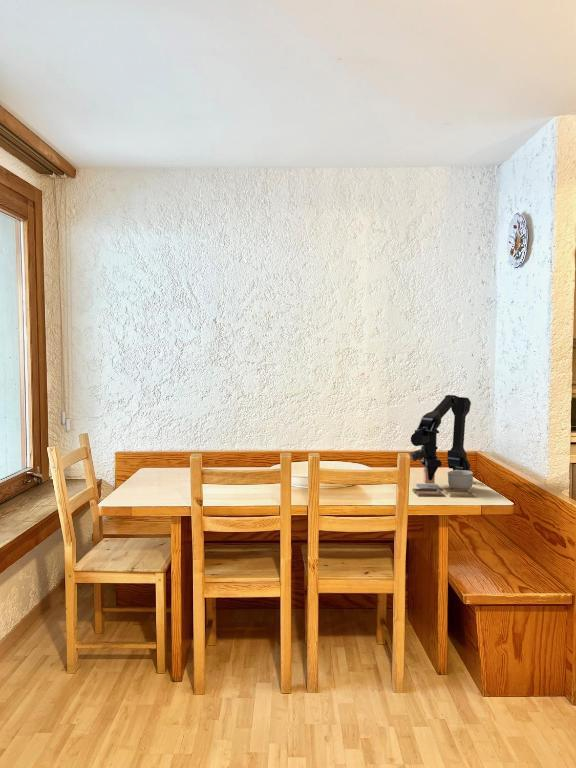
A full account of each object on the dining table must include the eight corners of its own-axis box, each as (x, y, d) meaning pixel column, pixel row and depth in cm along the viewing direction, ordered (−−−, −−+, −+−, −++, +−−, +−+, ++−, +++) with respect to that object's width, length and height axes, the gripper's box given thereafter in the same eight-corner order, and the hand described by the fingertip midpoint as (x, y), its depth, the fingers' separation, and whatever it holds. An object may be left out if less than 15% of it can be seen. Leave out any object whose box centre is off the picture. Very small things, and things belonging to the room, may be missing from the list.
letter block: (423, 481, 292) (423, 467, 292) (432, 481, 292) (432, 467, 292) (425, 483, 288) (425, 468, 288) (434, 483, 288) (434, 468, 288)
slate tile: (416, 487, 295) (416, 483, 295) (436, 487, 295) (436, 484, 295) (420, 491, 286) (421, 488, 286) (441, 491, 286) (441, 488, 286)
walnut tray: (412, 492, 285) (412, 488, 285) (437, 492, 285) (437, 488, 285) (418, 497, 274) (418, 494, 274) (444, 497, 274) (444, 494, 274)
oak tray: (442, 492, 284) (442, 489, 284) (468, 492, 284) (468, 489, 284) (449, 498, 273) (449, 494, 273) (476, 498, 273) (476, 494, 273)
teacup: (473, 493, 284) (474, 474, 283) (447, 491, 286) (448, 473, 286) (471, 486, 297) (471, 469, 297) (446, 485, 300) (446, 467, 299)
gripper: (407, 441, 298) (406, 475, 299) (416, 447, 280) (415, 483, 281) (431, 441, 299) (430, 475, 300) (442, 447, 280) (441, 483, 281)
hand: (429, 479), depth 290 cm, fingers closed on letter block, 4 cm apart
